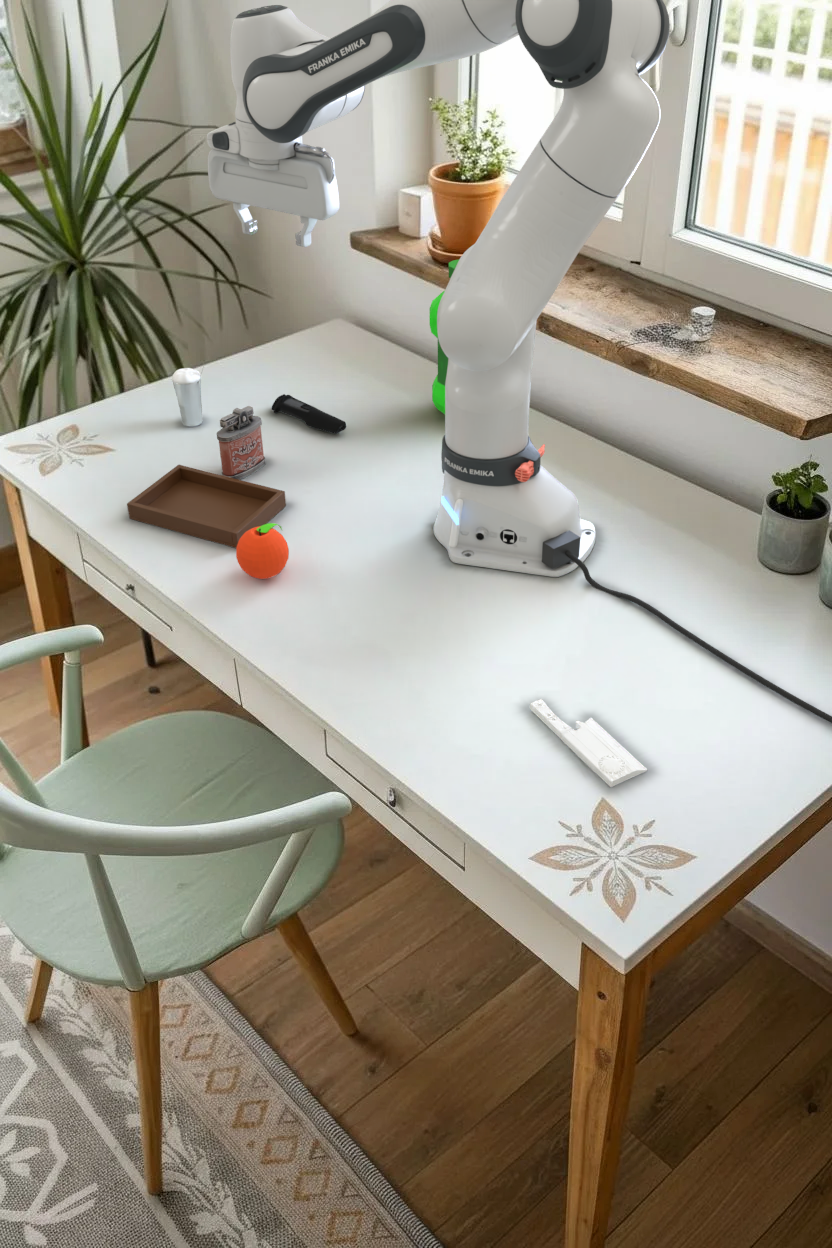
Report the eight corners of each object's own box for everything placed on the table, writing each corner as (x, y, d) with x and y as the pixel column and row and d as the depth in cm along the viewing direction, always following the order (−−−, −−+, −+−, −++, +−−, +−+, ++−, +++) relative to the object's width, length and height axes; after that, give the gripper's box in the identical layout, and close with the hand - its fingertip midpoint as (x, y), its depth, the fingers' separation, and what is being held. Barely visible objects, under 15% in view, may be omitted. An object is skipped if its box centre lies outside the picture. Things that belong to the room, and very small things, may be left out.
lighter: (255, 457, 188) (248, 398, 182) (270, 463, 186) (264, 404, 180) (217, 477, 183) (209, 417, 177) (232, 484, 181) (225, 424, 176)
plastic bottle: (421, 405, 202) (418, 257, 187) (481, 396, 204) (483, 249, 189) (440, 432, 194) (439, 280, 179) (502, 422, 196) (506, 271, 181)
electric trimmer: (335, 443, 192) (334, 425, 190) (269, 412, 200) (268, 395, 198) (352, 435, 194) (351, 417, 192) (286, 405, 202) (285, 387, 200)
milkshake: (209, 428, 196) (201, 371, 190) (176, 428, 196) (167, 371, 190) (213, 415, 200) (206, 359, 194) (181, 416, 200) (173, 359, 194)
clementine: (264, 551, 167) (259, 506, 162) (305, 565, 164) (301, 520, 160) (228, 579, 161) (222, 534, 157) (270, 594, 158) (265, 548, 154)
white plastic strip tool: (565, 694, 141) (566, 687, 140) (647, 771, 131) (648, 764, 130) (529, 708, 139) (530, 701, 138) (609, 788, 129) (610, 780, 128)
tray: (286, 506, 176) (284, 491, 175) (238, 548, 167) (236, 533, 166) (180, 478, 183) (178, 464, 182) (129, 518, 174) (126, 503, 173)
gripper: (346, 143, 162) (349, 245, 171) (225, 122, 171) (234, 220, 179) (319, 155, 158) (324, 259, 166) (196, 133, 167) (207, 233, 175)
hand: (276, 239), depth 173 cm, fingers open, 8 cm apart
